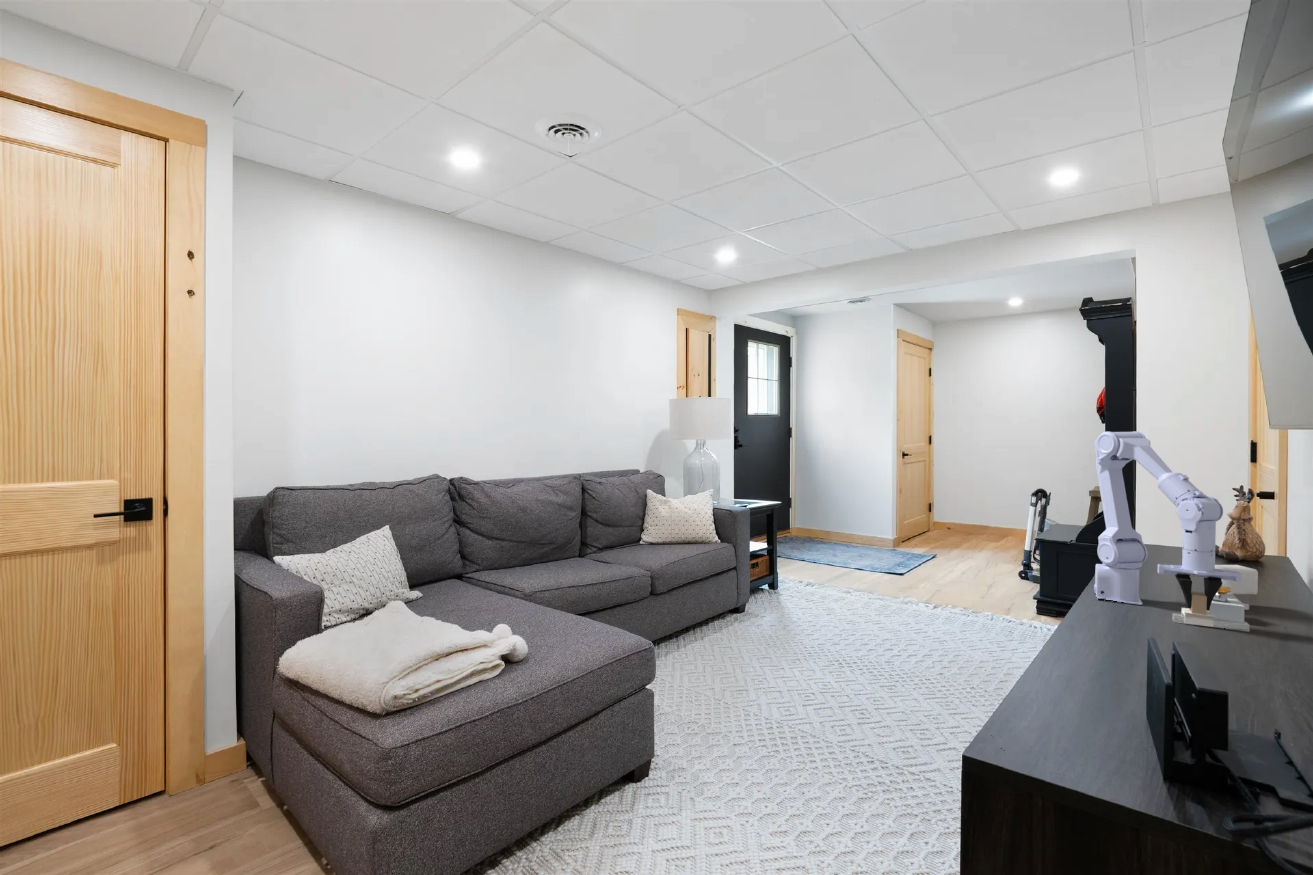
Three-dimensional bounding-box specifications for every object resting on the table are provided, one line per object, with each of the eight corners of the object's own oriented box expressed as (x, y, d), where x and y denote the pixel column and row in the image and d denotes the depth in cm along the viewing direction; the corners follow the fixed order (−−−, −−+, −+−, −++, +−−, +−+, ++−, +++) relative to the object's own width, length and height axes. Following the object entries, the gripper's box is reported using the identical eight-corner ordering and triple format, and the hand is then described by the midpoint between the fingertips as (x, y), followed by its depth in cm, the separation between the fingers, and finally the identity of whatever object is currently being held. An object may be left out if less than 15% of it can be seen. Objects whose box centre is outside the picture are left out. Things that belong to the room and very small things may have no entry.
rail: (1174, 622, 145) (1174, 615, 145) (1172, 619, 147) (1172, 612, 147) (1249, 631, 138) (1249, 625, 138) (1246, 628, 140) (1246, 622, 140)
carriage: (1184, 623, 143) (1185, 594, 143) (1181, 618, 147) (1181, 589, 147) (1213, 626, 141) (1214, 597, 141) (1209, 621, 145) (1209, 592, 144)
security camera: (1257, 610, 154) (1258, 570, 154) (1228, 610, 154) (1229, 570, 154) (1234, 602, 160) (1235, 564, 160) (1206, 602, 161) (1207, 564, 160)
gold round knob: (1212, 606, 148) (1213, 587, 148) (1209, 602, 151) (1209, 584, 151) (1231, 608, 146) (1232, 589, 146) (1228, 604, 149) (1228, 586, 149)
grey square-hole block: (1204, 618, 148) (1204, 602, 147) (1198, 611, 153) (1198, 594, 153) (1244, 623, 144) (1244, 606, 144) (1236, 615, 150) (1236, 599, 150)
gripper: (1161, 549, 144) (1160, 607, 144) (1245, 556, 136) (1244, 617, 137) (1156, 544, 150) (1155, 600, 150) (1237, 550, 142) (1236, 609, 143)
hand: (1197, 608), depth 144 cm, fingers closed on carriage, 2 cm apart
